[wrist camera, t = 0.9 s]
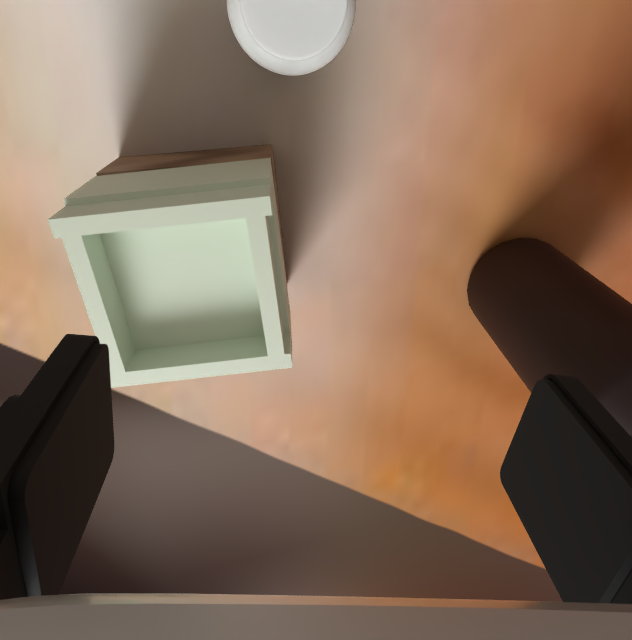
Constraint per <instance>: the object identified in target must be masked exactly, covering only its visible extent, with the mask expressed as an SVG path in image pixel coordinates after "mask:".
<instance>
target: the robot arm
mask: <svg viewBox="0 0 632 640" xmlns="http://www.w3.org/2000/svg"><path fill="white" fill-rule="evenodd" d="M113 454H114V431H113V414H112V396H111V379H110V362H109V348H108V345H107V344H100V342H99V339H98V337H97V336H87V335H75V334H66V335H65V336H64V338H63V339H62V340H61V342H60V343H59V344H58V346H57V347H56V348H55V350H54V351H53V352H52V354H51V355H50V357H49V358H48V359H47V361H46V362H45V363H44V365H43V366H42V367H41V369H40V370H39V371H38V373H37V374H36V375H35V377H34V378H33V380H32V381H31V382H30V384H29V385H28V386H27V388H26V389H25V391H24V392H23V393H22V394H21V395H13V396H11V397H9V398H8V399H7V400H6V401H5V402H4V403H3V405H2V406H1V407H0V640H632V437H631V436H630V435H629V434H628V433H627V432H626V431H625V429H624V428H623V427H622V426H621V425H620V424H619V423H618V422H617V421H616V420H615V418H614V417H613V416H612V415H611V414H610V413H609V412H608V411H607V410H606V409H605V408H604V406H603V405H602V404H601V403H600V402H599V401H598V400H597V399H596V398H595V397H594V395H593V394H592V393H591V392H590V391H589V390H588V389H587V388H586V387H585V386H584V385H583V383H582V382H581V381H580V380H579V379H578V378H577V377H575V376H571V375H558V374H547V375H546V376H545V377H543V379H541V380H538V381H537V382H536V384H535V386H534V388H533V390H532V393H531V395H530V398H529V400H528V403H527V405H526V408H525V410H524V413H523V415H522V417H521V420H520V422H519V425H518V427H517V430H516V432H515V435H514V437H513V439H512V442H511V444H510V447H509V449H508V452H507V454H506V457H505V459H504V461H503V464H502V466H501V471H500V478H501V482H502V485H503V487H504V488H505V490H506V492H507V494H508V496H509V498H510V500H511V502H512V504H513V506H514V508H515V510H516V512H517V514H518V516H519V517H520V519H521V521H522V523H523V525H524V527H525V529H526V531H527V533H528V535H529V537H530V539H531V541H532V543H533V545H534V546H535V548H536V550H537V552H538V554H539V556H540V558H541V560H542V562H543V564H544V566H545V568H546V570H547V571H548V573H549V575H550V577H551V579H552V581H553V583H554V585H555V587H556V589H557V591H558V593H559V594H560V597H561V598H562V601H563V602H542V601H541V602H540V601H508V600H507V601H506V600H471V599H469V600H467V599H427V598H385V597H384V598H382V597H338V596H285V595H224V594H70V595H59V593H60V590H61V588H62V585H63V583H64V580H65V578H66V575H67V573H68V570H69V568H70V565H71V563H72V560H73V558H74V555H75V553H76V550H77V547H78V545H79V543H80V540H81V538H82V535H83V533H84V530H85V528H86V525H87V523H88V520H89V518H90V515H91V513H92V510H93V508H94V505H95V503H96V500H97V497H98V495H99V493H100V490H101V487H102V485H103V483H104V480H105V477H106V475H107V473H108V470H109V467H110V465H111V462H112V459H113Z"/></svg>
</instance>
